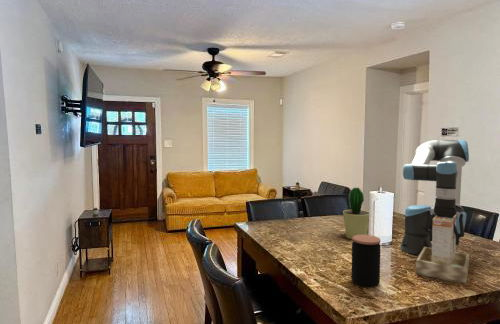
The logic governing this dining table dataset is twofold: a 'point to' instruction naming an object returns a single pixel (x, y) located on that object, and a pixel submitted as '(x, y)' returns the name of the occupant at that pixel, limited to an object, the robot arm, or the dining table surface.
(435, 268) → the crate
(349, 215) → the potted cactus
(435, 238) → the coffeecake box
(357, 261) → the coffee jar
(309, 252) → the dining table surface
